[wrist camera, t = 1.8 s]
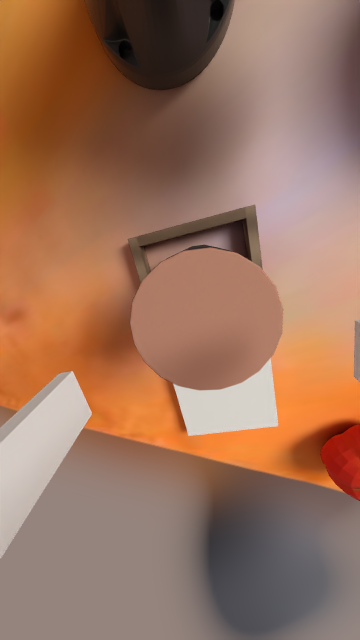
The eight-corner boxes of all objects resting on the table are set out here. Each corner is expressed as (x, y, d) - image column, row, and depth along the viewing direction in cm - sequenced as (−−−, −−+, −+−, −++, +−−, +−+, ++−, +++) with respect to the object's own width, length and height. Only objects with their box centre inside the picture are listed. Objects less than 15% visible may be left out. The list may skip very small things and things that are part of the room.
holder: (133, 239, 30) (127, 239, 28) (250, 207, 28) (255, 204, 25) (163, 341, 35) (160, 348, 33) (264, 322, 33) (269, 328, 30)
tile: (168, 355, 36) (166, 361, 34) (264, 339, 34) (268, 344, 32) (189, 427, 41) (188, 435, 39) (274, 417, 39) (278, 425, 37)
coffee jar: (177, 323, 34) (155, 402, 17) (156, 256, 31) (105, 273, 14) (243, 307, 32) (293, 377, 15) (229, 235, 29) (272, 224, 12)
